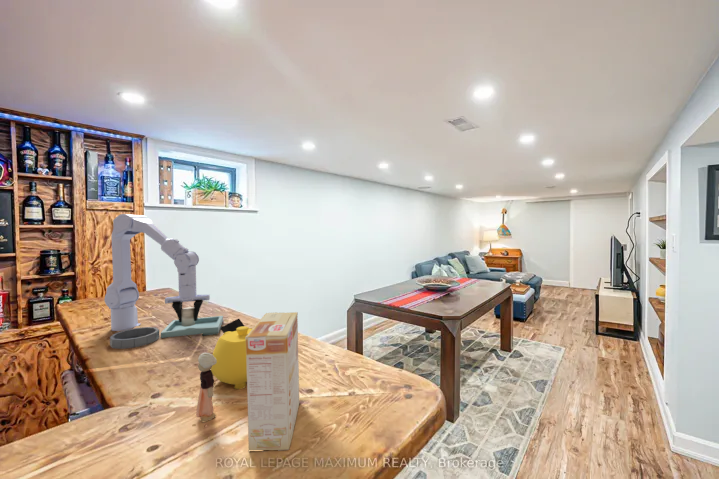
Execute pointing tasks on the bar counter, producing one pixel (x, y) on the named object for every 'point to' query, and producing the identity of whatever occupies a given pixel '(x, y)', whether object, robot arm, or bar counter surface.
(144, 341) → the grey rounded shallow piece
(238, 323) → the handheld gaming console
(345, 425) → the bar counter surface
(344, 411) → the bar counter surface
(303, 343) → the bar counter surface
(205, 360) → the grandmother figurine
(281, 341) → the coffeecake box
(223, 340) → the teapot
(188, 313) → the cylinder
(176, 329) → the tray
